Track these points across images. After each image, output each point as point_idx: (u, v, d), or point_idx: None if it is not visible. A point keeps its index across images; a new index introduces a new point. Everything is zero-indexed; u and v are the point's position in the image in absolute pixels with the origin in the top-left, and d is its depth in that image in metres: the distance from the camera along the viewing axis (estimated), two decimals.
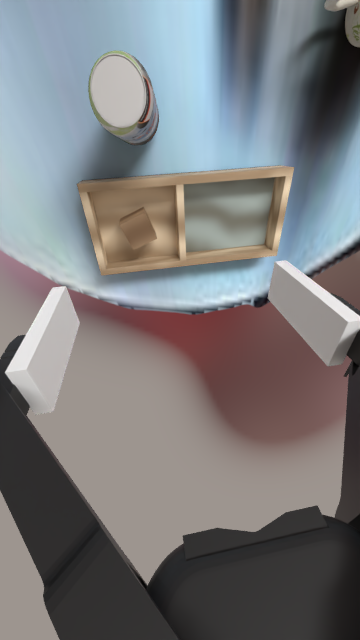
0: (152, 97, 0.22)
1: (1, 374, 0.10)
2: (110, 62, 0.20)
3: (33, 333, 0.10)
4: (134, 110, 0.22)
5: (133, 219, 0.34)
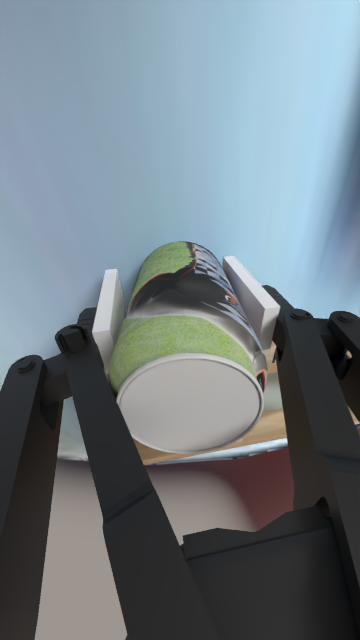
0: None
1: None
2: (177, 370, 0.07)
3: (104, 304, 0.12)
4: (225, 432, 0.09)
5: None
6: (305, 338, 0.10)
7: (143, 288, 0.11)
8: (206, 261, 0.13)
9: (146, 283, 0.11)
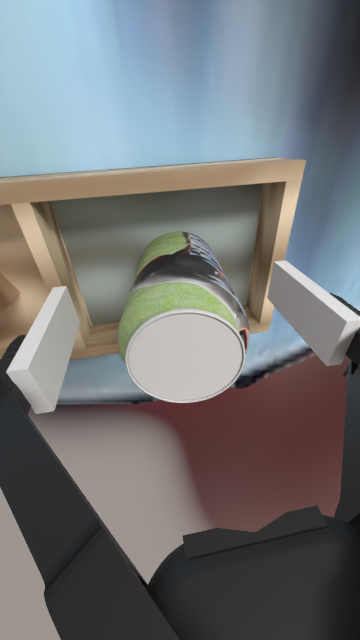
0: (248, 344, 0.11)
1: (2, 373, 0.10)
2: (175, 323, 0.09)
3: (34, 332, 0.11)
4: (215, 382, 0.10)
5: None
6: None
7: (145, 267, 0.13)
8: (200, 247, 0.15)
9: (148, 264, 0.13)
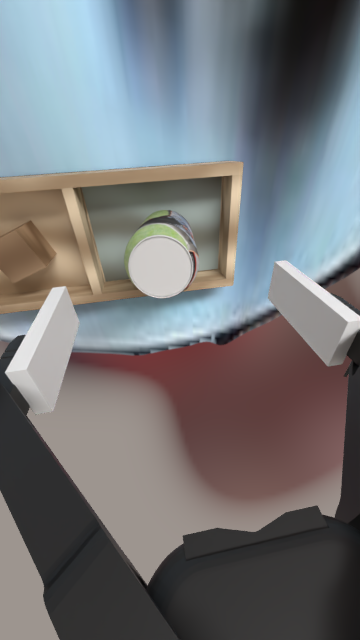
0: (198, 264, 0.19)
1: (1, 374, 0.10)
2: (154, 243, 0.17)
3: (33, 333, 0.10)
4: (178, 283, 0.19)
5: (0, 240, 0.22)
6: None
7: (141, 225, 0.21)
8: (176, 216, 0.23)
9: (143, 223, 0.21)
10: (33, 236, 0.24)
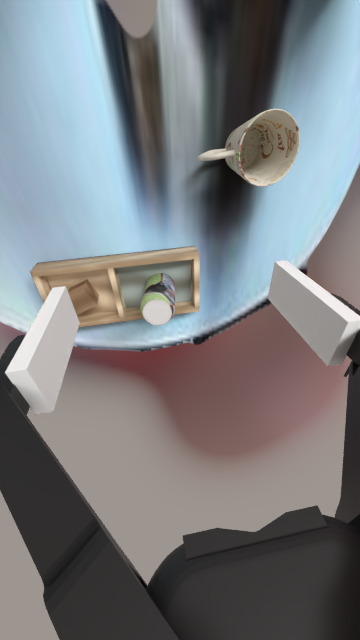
0: (174, 309, 0.41)
1: (1, 374, 0.10)
2: (154, 302, 0.39)
3: (33, 333, 0.10)
4: (165, 318, 0.41)
5: (76, 293, 0.44)
6: None
7: (147, 288, 0.43)
8: (165, 280, 0.45)
9: (148, 286, 0.43)
10: (89, 288, 0.46)
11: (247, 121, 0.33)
